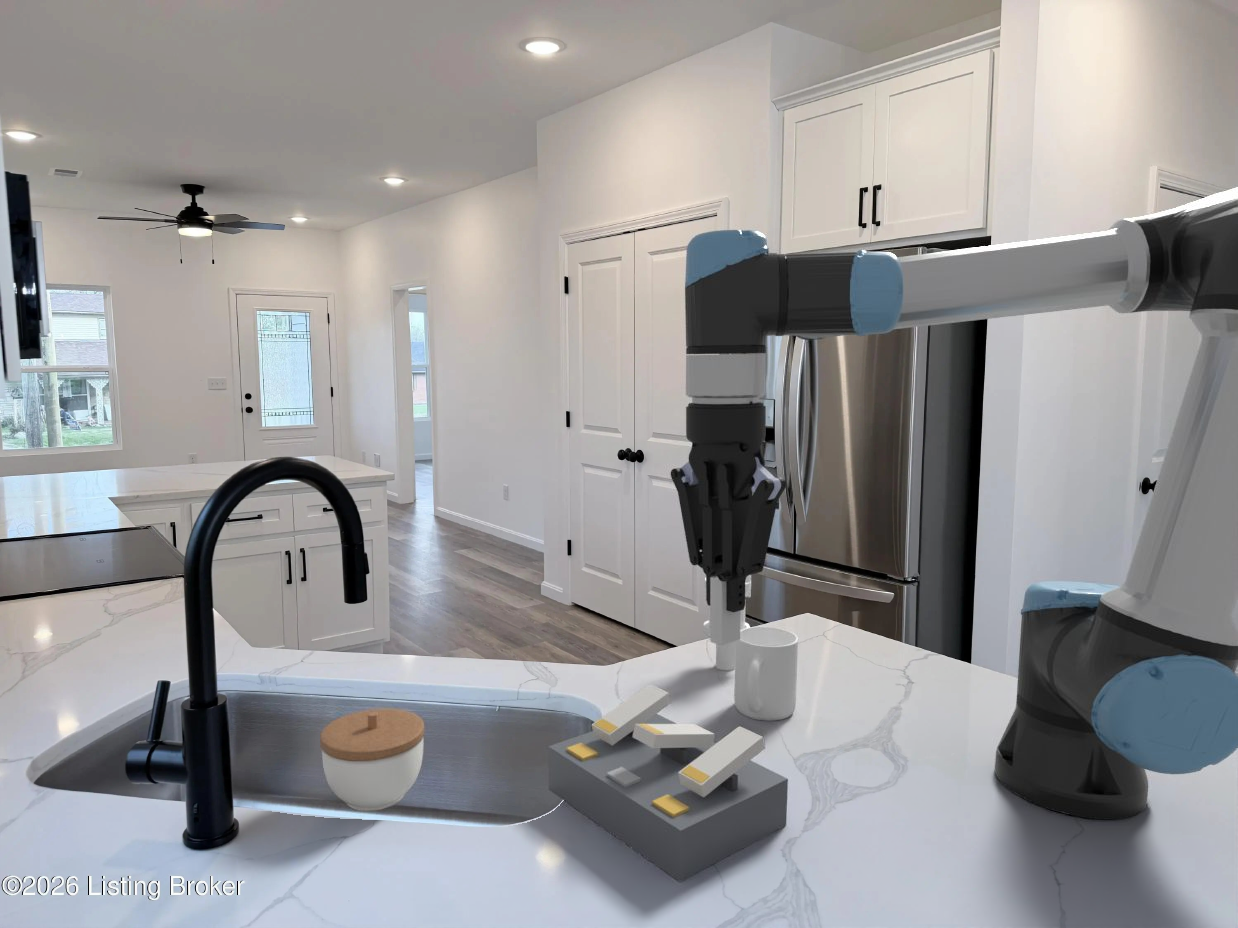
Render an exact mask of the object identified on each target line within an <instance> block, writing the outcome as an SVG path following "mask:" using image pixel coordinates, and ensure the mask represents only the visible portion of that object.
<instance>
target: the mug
mask: <svg viewBox="0 0 1238 928" xmlns="http://www.w3.org/2000/svg"><path fill="white" fill-rule="evenodd" d="M798 655H799V638H798V635H796V633H794V632H792V631H790V630H786V629H784V628H779V627H771V626H752V627H751V626H750V628H745V629H742V630H740V640H737V641H736V651H735V669H734V695H733V697H734V698H733V699H734V706H735V709H736V710H737V711H738V712H739V713H740V715H741V714H742V715H743V716H745V717H747V718H750V719H754V720H758V721H765V722H766V721H769V722H772V721H774V722H775V721H782V720H784V719H788V718H789V717H790V716H792V715H793V713H794V712H795V710H796V704H797V685H798V684H797V680H798V679H797V677H798V658H799V657H798Z"/></svg>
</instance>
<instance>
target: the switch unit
mask: <svg viewBox="0 0 1238 928" xmlns="http://www.w3.org/2000/svg"><path fill="white" fill-rule="evenodd" d="M643 724H677V723H676V722H674V721H673V720H671V719H669V718H667V717H664V716H662V715H660V714H659V713H657V714H655V715H654V716H653V717H651V718H650V719H648V720H647V721H646V722H644V723H643ZM633 732H634V730H633V731H632V732H630V733H629V734H628V735H626V736H625V737H623V738H622V739H621V740H619V741H618V742H617V743H615V744H614V745H610V744H609V743H607V742H605V741H603V740H602V739H600V738H598V737H596V736H595V735H594V732H593V730H591V731H590V732H586V733H584V734H579V735H578V736H575V737H571V738H568V739H566V740H562V741H560V742H557V743H554V744H552V745H548V747H547V751H548V753H547V754H548V758H547V759H548V790H549V791H550V792H552V793H553V794H554V795H556V796H557V797H559V798H560V799H561V800H563V801H564V802H566V803H567V804H568V805H570V806H571V807H573V808H574V809H576V810H577V811H578V812H580V813H581V814H583V815H584V816H586V817H587V818H588V819H590V820H591V821H593V822H594V823H595V824H597V825H599V826H600V827H601V828H602V829H604V830H606V831H607V832H608V833H610V834H611V835H612V836H614V837H615V838H617V839H618V840H620V841H621V842H622V843H623V844H625V845H627V846H628V847H630V848H631V849H632V850H634V852H637V853H638V854H639V855H641V856H642V857H643V858H645V859H646V860H648V861H649V862H651V863H652V864H654V865H655V866H656V867H658V868H660V869H661V870H662V871H664V873H666V874H668V875H669V876H670V877H672V878H674V879H675V880H676V881H678V882H679V883H681V882H682V881H685V880H687V878H690V877H692V876H693V875H695V874H697V873H699V872H701V871H703V870H705V869H707V868H708V867H711V866H712V865H714V864H716V863H718V862H720V861H722V860H723V859H725V858H727V857H729V856H730V855H734V854H735V853H736V852H739V851H740V850H743V849H744V848H745V847H747V846H748V847H749V846H750V845H751V844H753V843H755V842H758V841H759V840H760V839H763V838H764V837H766V836H768V835H770V834H772V833H773V832H776V831H778V830H779V829H781V828H783V827H785V826H787V817H788V816H787V813H788V812H787V810H788V784H789V779H788V778H787V777H785V776H783V775H781V774H779V773H777V772H775V771H773V770H771V769H769V768H767V767H765V766H763V765H761V764H759V763H757V762H755V761H752V759H751V760H750V761H749V762H747V763H746V764H745V765H744V766H742V767H741V768H740V769H739V770H737V771H736V772H735V773H734V774H732V775H731V776H730V777H729V778H727V779H726V780H725V781H724V782H722V783H721V784H720V785H719V786H717V787H716V788H715V789H714V790H712V791H711V792H710V793H709V794H707V795H706V796H705V797H702V796H700V795H699V794H697V793H695V792H693V791H692V790H690V789H688V788H686V787H685V786H683V785H681V784H680V779H679V774H678V772H679V771H681V770H682V769H683V768H685V767H686V766H687V765H689V764H690V763H691V762H693V761H694V760H695V759H697V758H698V757H699V756H701V755H702V754H703V753H704V752H706V751H707V750H708V749H710V748H711V747H686V748H651V747H650V746H648V745H646V744H644V743H642V742H640V741H639V740H637V739H635V738H633V737H632V736H633ZM716 743H717V742H714V741H713V745H712V746H714V745H715V744H716ZM565 800H566V801H565Z"/></svg>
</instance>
